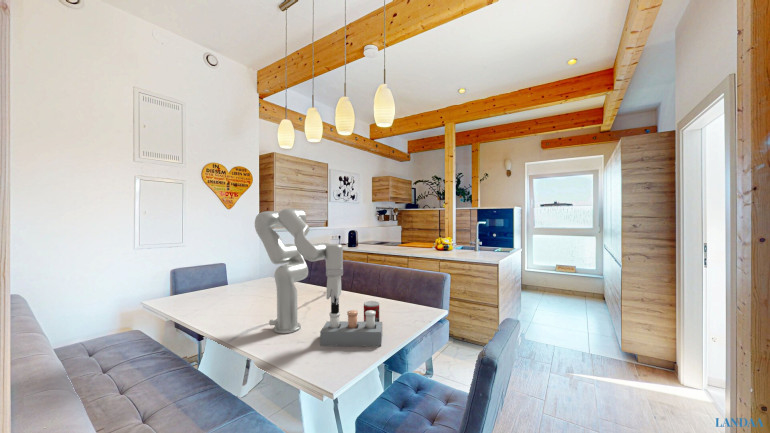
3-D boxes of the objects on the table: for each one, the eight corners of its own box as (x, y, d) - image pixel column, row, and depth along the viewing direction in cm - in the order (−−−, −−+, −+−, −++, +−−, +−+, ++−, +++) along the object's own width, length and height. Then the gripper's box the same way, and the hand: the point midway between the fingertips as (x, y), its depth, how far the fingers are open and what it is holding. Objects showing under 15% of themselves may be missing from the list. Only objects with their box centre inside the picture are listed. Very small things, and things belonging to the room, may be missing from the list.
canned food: (377, 328, 143) (377, 306, 143) (361, 327, 145) (361, 305, 145) (380, 322, 151) (380, 301, 151) (366, 321, 152) (365, 300, 152)
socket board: (320, 345, 124) (320, 331, 124) (326, 334, 136) (326, 321, 136) (381, 346, 123) (381, 332, 123) (382, 334, 135) (382, 321, 135)
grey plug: (364, 332, 127) (364, 313, 127) (365, 327, 132) (365, 310, 132) (375, 332, 127) (375, 313, 127) (376, 328, 132) (375, 310, 132)
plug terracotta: (346, 331, 128) (346, 313, 128) (348, 327, 132) (348, 310, 132) (357, 331, 128) (356, 313, 127) (358, 327, 132) (358, 310, 132)
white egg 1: (328, 332, 128) (328, 314, 128) (330, 328, 133) (330, 311, 133) (338, 332, 128) (338, 314, 128) (340, 328, 132) (340, 311, 132)
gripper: (329, 269, 138) (330, 307, 138) (321, 275, 123) (322, 318, 123) (345, 268, 137) (346, 307, 137) (339, 275, 122) (340, 318, 122)
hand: (335, 312), depth 130 cm, fingers closed
